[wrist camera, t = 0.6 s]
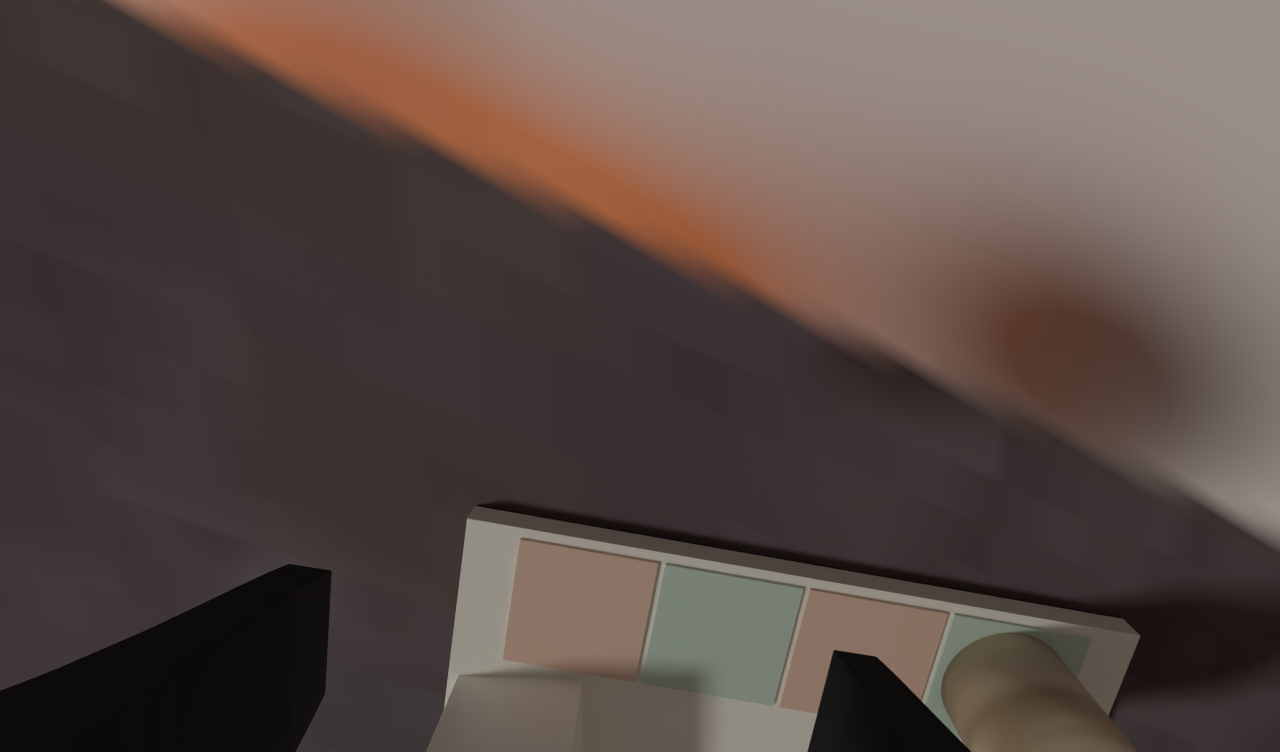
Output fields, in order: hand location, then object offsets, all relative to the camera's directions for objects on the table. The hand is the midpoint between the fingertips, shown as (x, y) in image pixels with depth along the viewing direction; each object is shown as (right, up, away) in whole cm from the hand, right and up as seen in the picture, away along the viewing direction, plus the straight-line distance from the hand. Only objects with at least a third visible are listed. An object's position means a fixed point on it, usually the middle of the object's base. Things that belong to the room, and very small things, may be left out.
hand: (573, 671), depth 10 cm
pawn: (+11, -5, +10) cm, 16 cm away
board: (+5, -5, +11) cm, 13 cm away
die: (-2, -6, +11) cm, 13 cm away
